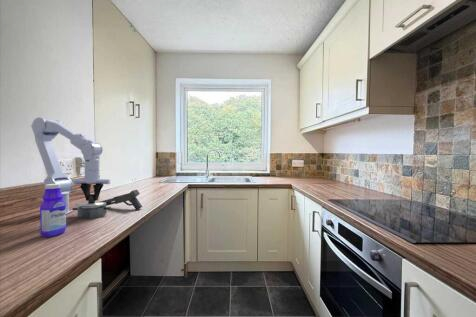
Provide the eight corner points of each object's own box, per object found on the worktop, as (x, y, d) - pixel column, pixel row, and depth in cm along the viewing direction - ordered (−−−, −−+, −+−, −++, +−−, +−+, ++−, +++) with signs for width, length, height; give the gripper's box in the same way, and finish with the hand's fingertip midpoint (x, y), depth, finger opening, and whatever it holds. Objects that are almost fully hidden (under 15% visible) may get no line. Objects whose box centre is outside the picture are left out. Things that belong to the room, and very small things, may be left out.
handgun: (139, 209, 120) (134, 190, 120) (98, 219, 124) (93, 200, 124) (143, 208, 123) (139, 188, 124) (103, 217, 128) (99, 199, 128)
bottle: (50, 238, 80) (49, 185, 79) (36, 237, 81) (35, 185, 81) (69, 231, 87) (69, 183, 87) (56, 230, 88) (56, 182, 88)
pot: (66, 219, 102) (66, 209, 102) (79, 213, 113) (79, 204, 113) (105, 218, 105) (105, 209, 105) (114, 212, 115) (114, 203, 115)
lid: (71, 209, 101) (71, 195, 102) (81, 206, 112) (82, 193, 113) (101, 208, 104) (102, 194, 104) (109, 206, 115) (109, 193, 116)
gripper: (69, 170, 103) (69, 202, 104) (105, 170, 106) (105, 201, 106) (77, 169, 110) (77, 199, 111) (111, 169, 113) (111, 198, 113)
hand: (92, 200), depth 109 cm, fingers open, 3 cm apart
